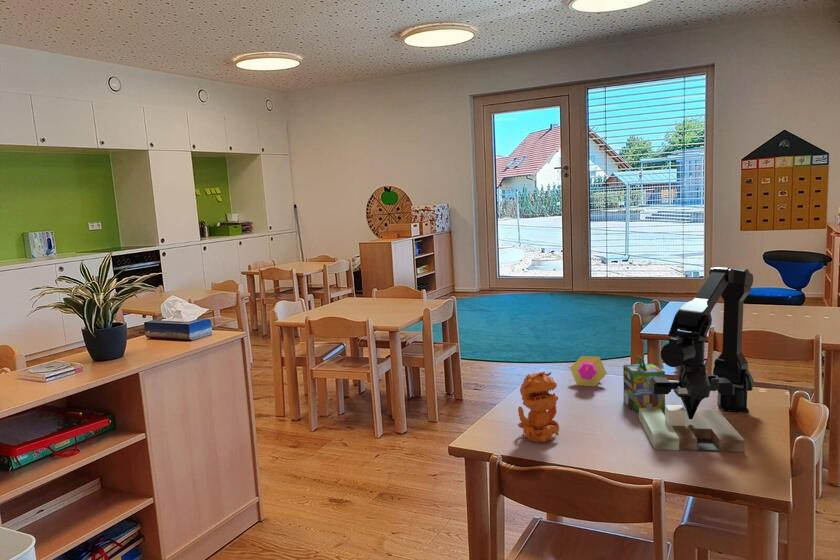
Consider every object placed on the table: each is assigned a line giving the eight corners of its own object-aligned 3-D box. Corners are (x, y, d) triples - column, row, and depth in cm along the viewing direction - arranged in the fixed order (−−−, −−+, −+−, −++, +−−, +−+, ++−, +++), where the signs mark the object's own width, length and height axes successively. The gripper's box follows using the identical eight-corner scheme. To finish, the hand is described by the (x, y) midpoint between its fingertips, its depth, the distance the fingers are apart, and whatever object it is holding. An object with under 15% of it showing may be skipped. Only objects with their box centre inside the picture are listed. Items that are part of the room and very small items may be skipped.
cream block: (681, 420, 155) (681, 405, 154) (685, 425, 151) (685, 410, 150) (664, 419, 155) (664, 404, 155) (668, 425, 151) (668, 410, 151)
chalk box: (665, 411, 169) (666, 360, 167) (632, 412, 169) (633, 361, 167) (653, 400, 178) (654, 351, 176) (622, 401, 178) (622, 352, 176)
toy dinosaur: (535, 450, 147) (534, 379, 144) (509, 435, 157) (508, 368, 154) (571, 440, 152) (570, 371, 149) (543, 426, 162) (542, 361, 159)
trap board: (717, 420, 161) (717, 409, 161) (744, 452, 141) (744, 440, 141) (639, 418, 164) (639, 408, 164) (654, 449, 145) (654, 437, 144)
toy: (610, 380, 201) (597, 351, 204) (609, 380, 184) (595, 349, 187) (581, 391, 203) (569, 362, 206) (578, 392, 186) (564, 361, 189)
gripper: (659, 367, 144) (658, 430, 146) (743, 367, 141) (741, 431, 143) (649, 355, 154) (649, 413, 157) (727, 355, 151) (725, 415, 154)
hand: (690, 418), depth 152 cm, fingers closed
